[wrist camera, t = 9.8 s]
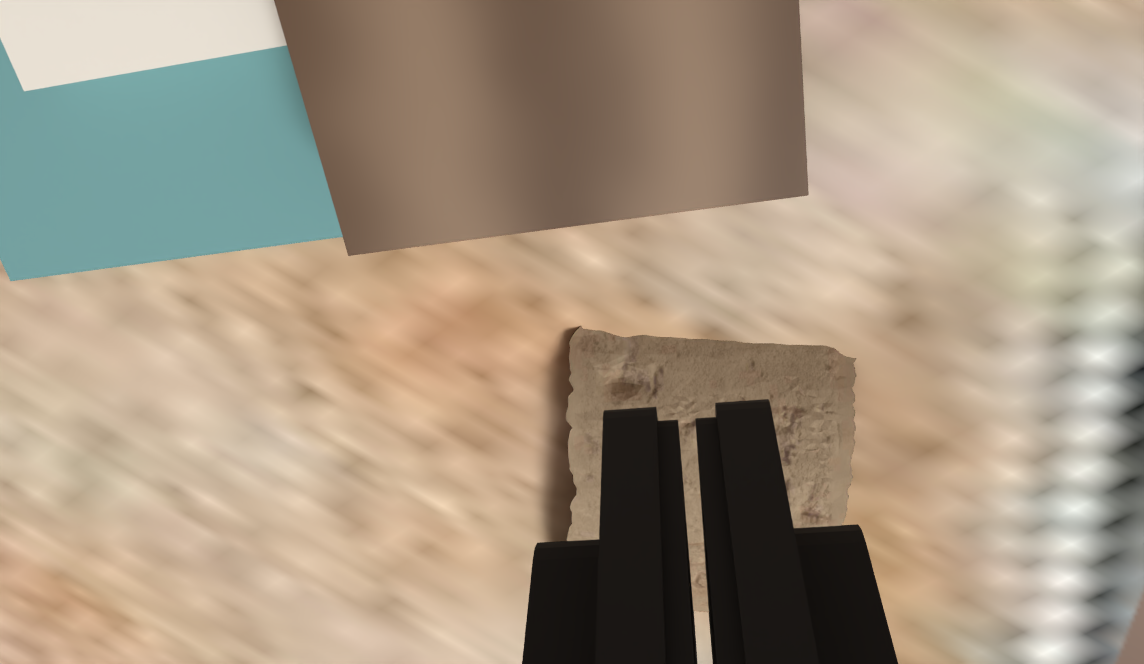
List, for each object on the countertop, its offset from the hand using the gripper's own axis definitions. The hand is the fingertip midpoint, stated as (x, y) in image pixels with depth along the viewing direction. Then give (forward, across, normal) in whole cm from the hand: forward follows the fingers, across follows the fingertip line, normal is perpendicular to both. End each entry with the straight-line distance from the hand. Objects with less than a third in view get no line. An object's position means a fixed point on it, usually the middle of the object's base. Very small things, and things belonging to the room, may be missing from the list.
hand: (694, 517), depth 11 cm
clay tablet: (+24, 0, +19) cm, 30 cm away
